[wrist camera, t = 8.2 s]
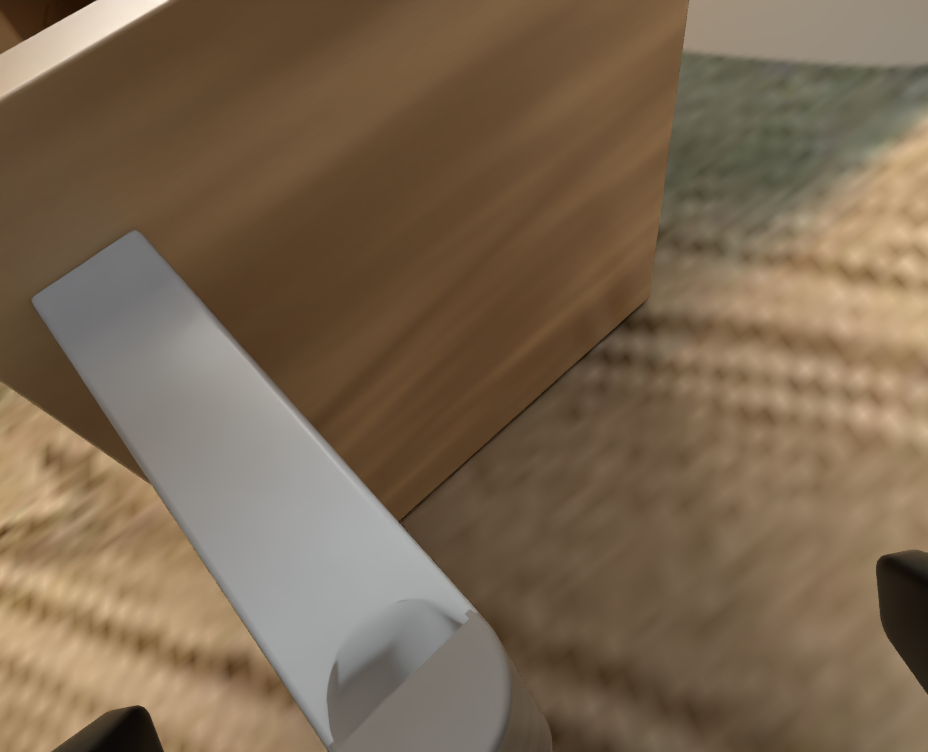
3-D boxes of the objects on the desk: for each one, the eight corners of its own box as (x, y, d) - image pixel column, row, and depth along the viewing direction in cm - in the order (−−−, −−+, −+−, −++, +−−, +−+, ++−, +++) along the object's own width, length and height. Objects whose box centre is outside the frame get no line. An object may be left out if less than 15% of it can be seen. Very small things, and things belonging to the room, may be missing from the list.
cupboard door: (860, 439, 17) (1418, -252, 6) (495, 841, 14) (96, 1110, 2) (628, 283, 20) (684, -332, 9) (297, 574, 17) (-241, 185, 6)
